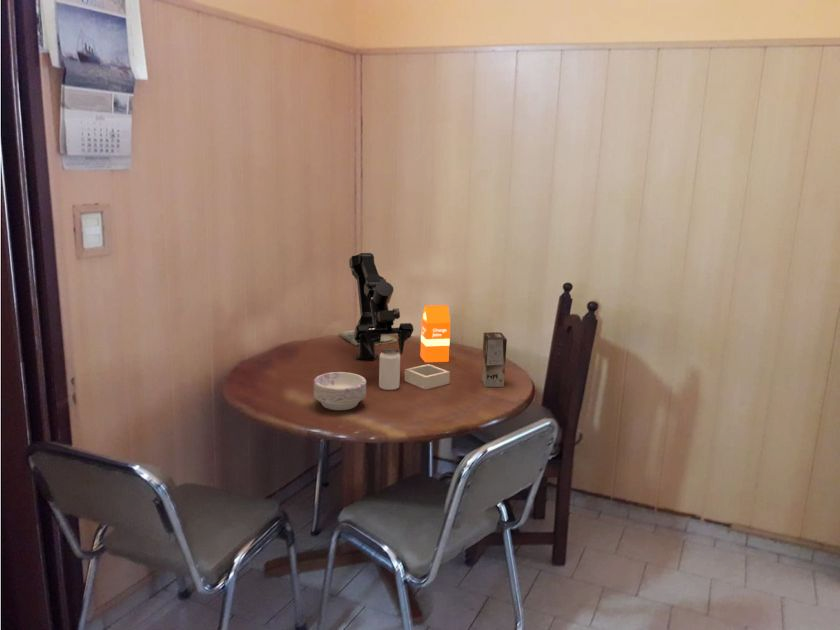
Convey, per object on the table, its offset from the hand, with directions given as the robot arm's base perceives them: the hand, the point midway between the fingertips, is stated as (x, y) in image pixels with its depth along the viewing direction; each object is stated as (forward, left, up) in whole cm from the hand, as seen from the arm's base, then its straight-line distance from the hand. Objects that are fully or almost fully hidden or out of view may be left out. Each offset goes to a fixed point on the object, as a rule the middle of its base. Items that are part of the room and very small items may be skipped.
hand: (387, 354), depth 218 cm
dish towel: (-52, -18, -11) cm, 56 cm away
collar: (-5, +12, -10) cm, 17 cm away
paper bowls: (+22, -10, -10) cm, 26 cm away
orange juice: (-32, +11, -10) cm, 36 cm away
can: (+3, +1, -10) cm, 11 cm away
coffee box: (-10, +33, -10) cm, 36 cm away
